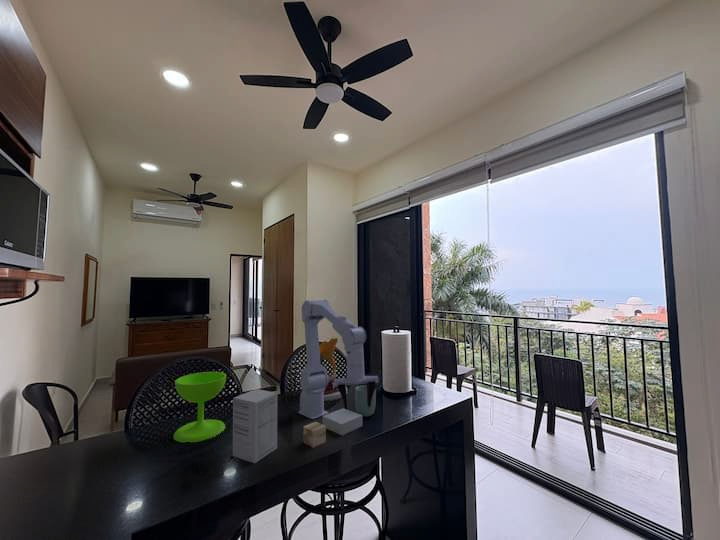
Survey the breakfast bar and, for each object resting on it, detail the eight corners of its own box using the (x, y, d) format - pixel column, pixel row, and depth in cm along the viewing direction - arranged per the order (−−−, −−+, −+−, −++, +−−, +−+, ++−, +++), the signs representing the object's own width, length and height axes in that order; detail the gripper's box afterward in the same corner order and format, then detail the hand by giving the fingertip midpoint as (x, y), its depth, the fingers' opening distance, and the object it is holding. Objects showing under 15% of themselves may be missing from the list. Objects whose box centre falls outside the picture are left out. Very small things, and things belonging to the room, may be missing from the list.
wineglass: (204, 444, 98) (206, 386, 100) (161, 440, 102) (163, 383, 103) (234, 423, 114) (235, 372, 115) (196, 420, 117) (197, 371, 118)
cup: (367, 420, 116) (367, 392, 116) (351, 415, 120) (351, 388, 121) (379, 413, 122) (379, 387, 123) (363, 409, 127) (363, 384, 127)
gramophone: (331, 384, 161) (331, 334, 163) (356, 394, 146) (356, 339, 147) (295, 392, 148) (295, 339, 150) (318, 404, 132) (318, 344, 134)
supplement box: (256, 442, 100) (256, 388, 101) (278, 448, 96) (278, 392, 97) (231, 456, 92) (232, 397, 93) (254, 464, 87) (255, 402, 88)
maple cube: (303, 442, 100) (303, 426, 100) (315, 437, 103) (315, 421, 103) (313, 448, 96) (313, 431, 96) (325, 442, 100) (325, 426, 100)
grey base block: (322, 427, 111) (322, 416, 111) (343, 419, 118) (343, 408, 118) (341, 436, 104) (341, 424, 104) (362, 426, 111) (362, 415, 112)
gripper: (334, 368, 99) (336, 413, 98) (379, 364, 101) (381, 408, 100) (333, 364, 106) (334, 406, 105) (375, 361, 108) (377, 402, 107)
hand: (357, 407), depth 103 cm, fingers open, 7 cm apart
